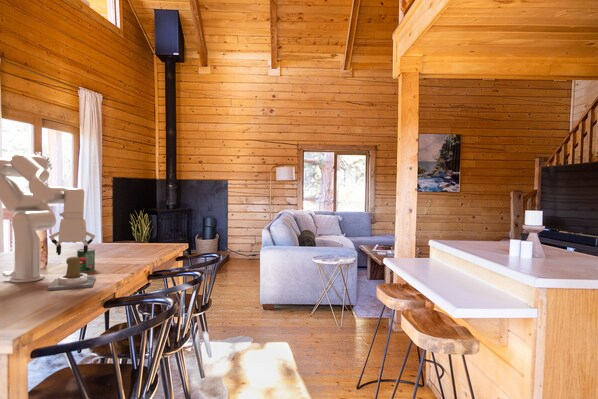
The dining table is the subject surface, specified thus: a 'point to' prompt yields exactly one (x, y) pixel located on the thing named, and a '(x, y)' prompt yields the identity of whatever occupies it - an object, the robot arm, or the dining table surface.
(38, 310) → the dining table surface
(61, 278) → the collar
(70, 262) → the olive tapered shaker
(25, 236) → the robot arm
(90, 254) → the canned tomato
